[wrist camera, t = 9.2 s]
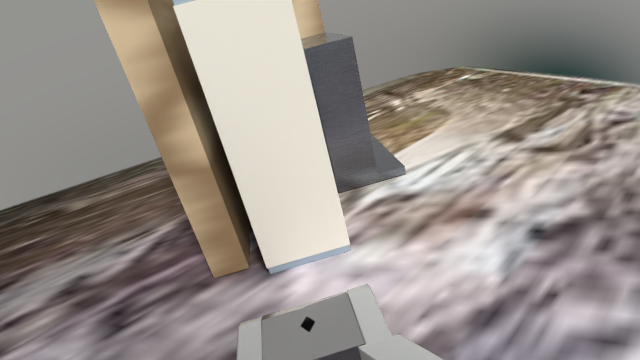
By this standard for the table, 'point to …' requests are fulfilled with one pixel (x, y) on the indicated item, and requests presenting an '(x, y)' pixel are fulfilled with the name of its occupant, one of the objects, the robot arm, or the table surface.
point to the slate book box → (267, 124)
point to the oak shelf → (187, 120)
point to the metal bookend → (345, 114)
